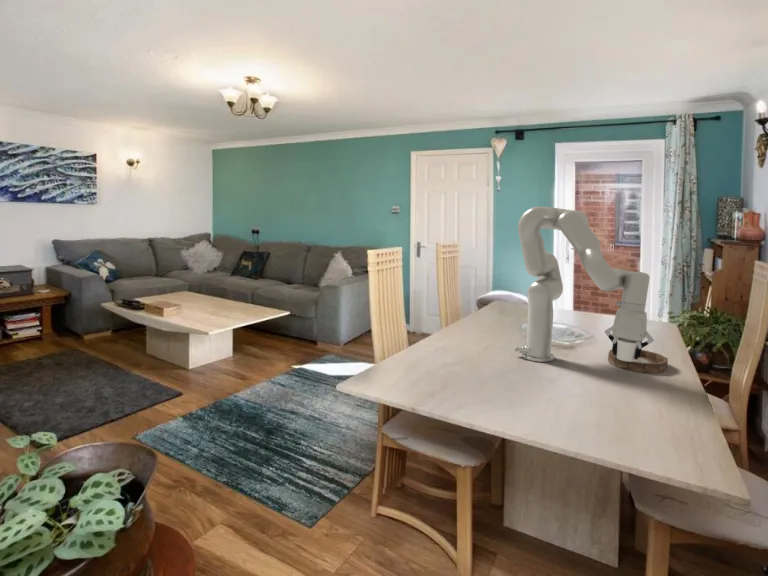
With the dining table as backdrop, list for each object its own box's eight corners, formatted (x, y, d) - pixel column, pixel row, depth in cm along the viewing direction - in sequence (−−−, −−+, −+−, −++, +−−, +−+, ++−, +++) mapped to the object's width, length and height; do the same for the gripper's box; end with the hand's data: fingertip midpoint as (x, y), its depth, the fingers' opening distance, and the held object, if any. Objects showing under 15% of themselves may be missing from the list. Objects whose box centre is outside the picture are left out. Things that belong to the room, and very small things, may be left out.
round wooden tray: (623, 372, 167) (624, 363, 167) (599, 356, 187) (599, 347, 186) (678, 373, 167) (679, 364, 166) (648, 356, 187) (649, 348, 186)
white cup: (639, 363, 159) (641, 343, 158) (617, 361, 160) (620, 341, 159) (632, 356, 166) (635, 338, 164) (612, 354, 167) (614, 336, 166)
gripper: (603, 304, 162) (597, 353, 165) (659, 313, 151) (651, 364, 155) (608, 301, 168) (602, 348, 171) (662, 309, 157) (655, 359, 160)
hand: (625, 355), depth 163 cm, fingers closed on white cup, 6 cm apart
